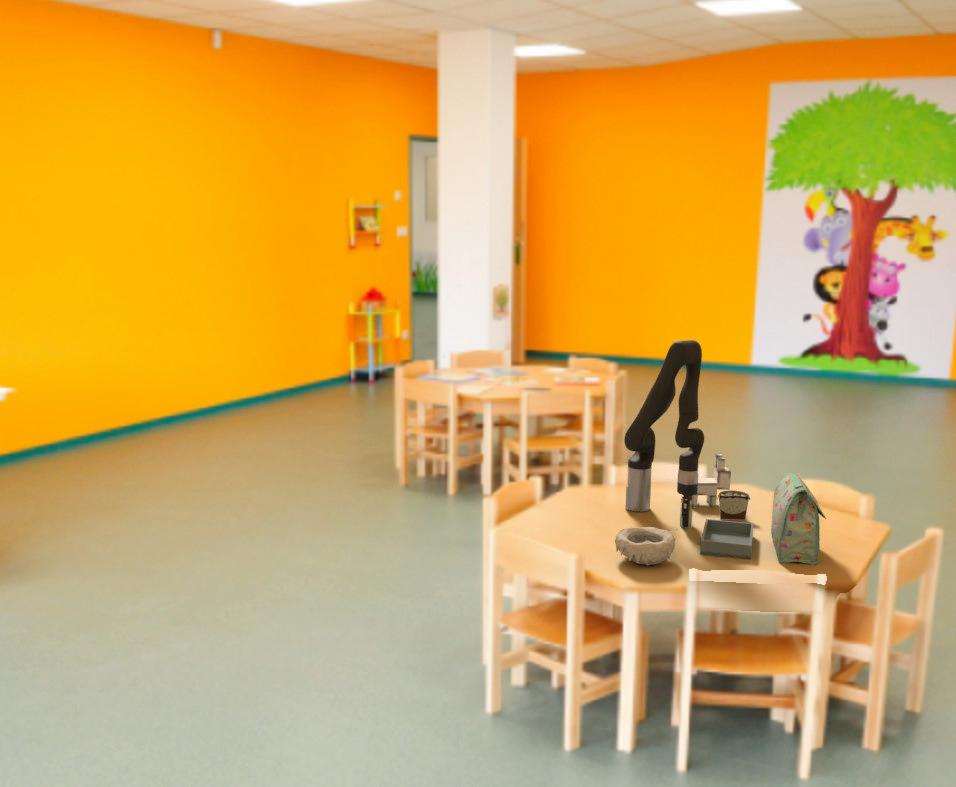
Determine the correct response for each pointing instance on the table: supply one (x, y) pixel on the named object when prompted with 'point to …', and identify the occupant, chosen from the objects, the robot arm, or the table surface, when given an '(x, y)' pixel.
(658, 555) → the bowl
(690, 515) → the sage cylinder
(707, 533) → the bin
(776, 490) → the lunch bag
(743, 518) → the food container
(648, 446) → the robot arm
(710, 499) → the toy llama
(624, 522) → the table surface
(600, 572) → the table surface
